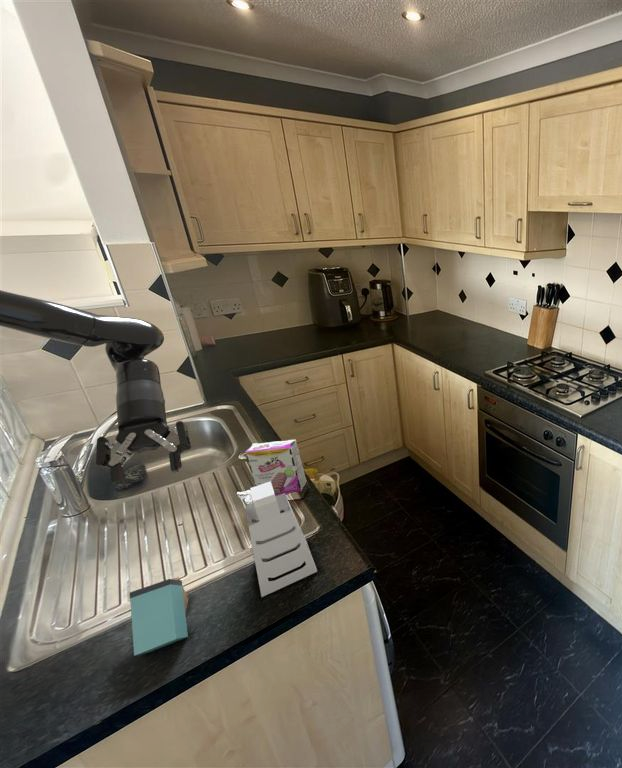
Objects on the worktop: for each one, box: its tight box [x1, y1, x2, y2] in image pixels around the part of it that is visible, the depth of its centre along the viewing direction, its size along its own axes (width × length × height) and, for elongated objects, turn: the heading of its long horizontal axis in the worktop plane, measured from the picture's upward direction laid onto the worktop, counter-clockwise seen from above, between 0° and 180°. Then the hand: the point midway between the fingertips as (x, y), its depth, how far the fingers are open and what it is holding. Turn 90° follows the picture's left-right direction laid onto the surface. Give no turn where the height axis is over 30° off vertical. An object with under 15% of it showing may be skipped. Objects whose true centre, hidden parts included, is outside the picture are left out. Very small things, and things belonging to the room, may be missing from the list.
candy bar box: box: [244, 439, 308, 496], centre depth 109 cm, size 11×5×16 cm, turn 100°
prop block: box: [173, 576, 189, 615], centre depth 77 cm, size 3×4×6 cm
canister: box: [129, 578, 189, 657], centre depth 71 cm, size 6×11×11 cm, turn 30°
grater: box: [244, 481, 318, 598], centre depth 84 cm, size 10×10×20 cm
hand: (148, 477), depth 80 cm, fingers open, 8 cm apart
